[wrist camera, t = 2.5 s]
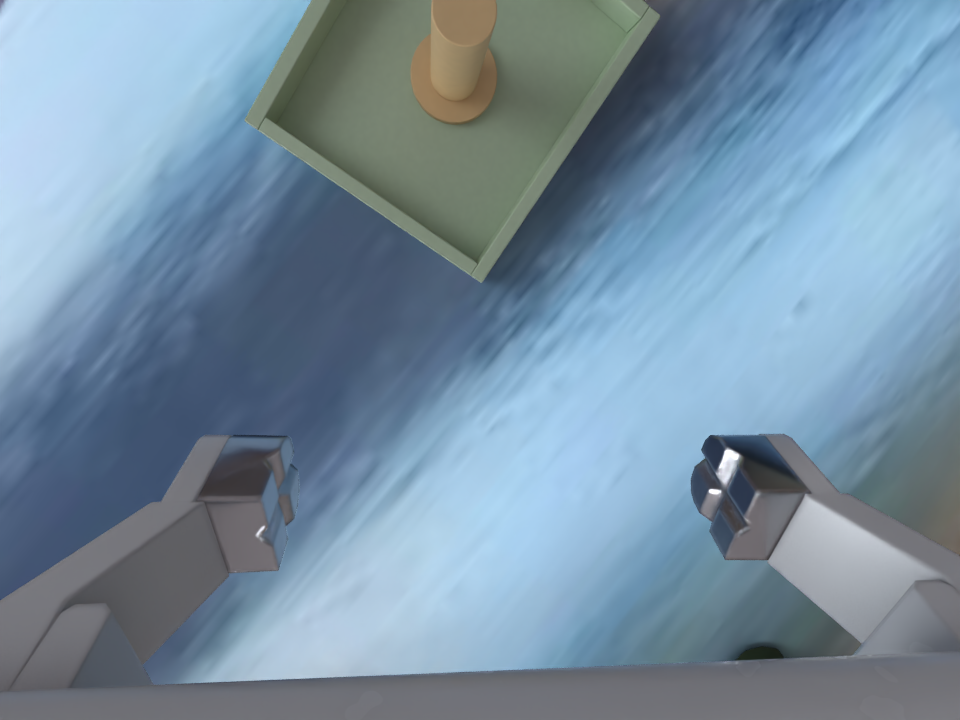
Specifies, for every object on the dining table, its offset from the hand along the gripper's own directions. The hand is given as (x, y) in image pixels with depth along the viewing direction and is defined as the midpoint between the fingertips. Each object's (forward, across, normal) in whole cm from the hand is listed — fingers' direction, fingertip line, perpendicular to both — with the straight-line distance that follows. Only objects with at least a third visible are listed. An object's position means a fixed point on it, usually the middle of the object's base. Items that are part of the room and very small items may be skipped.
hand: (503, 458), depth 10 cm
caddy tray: (+26, 0, -4) cm, 27 cm away
